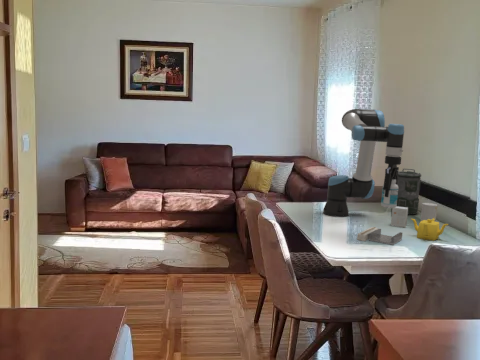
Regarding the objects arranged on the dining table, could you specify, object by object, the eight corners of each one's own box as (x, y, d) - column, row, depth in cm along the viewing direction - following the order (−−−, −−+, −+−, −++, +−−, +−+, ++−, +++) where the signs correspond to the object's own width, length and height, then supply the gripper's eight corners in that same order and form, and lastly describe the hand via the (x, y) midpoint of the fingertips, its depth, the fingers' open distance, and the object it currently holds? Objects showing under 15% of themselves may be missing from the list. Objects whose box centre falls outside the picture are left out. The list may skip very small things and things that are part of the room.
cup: (436, 227, 304) (438, 206, 303) (421, 225, 306) (423, 204, 304) (434, 224, 312) (436, 203, 310) (419, 222, 314) (421, 202, 312)
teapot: (423, 241, 268) (425, 222, 267) (407, 234, 282) (409, 216, 281) (448, 241, 272) (450, 222, 271) (432, 234, 286) (434, 216, 284)
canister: (390, 213, 338) (394, 168, 334) (392, 209, 353) (396, 166, 349) (416, 216, 333) (421, 171, 329) (417, 211, 347) (422, 168, 343)
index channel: (369, 240, 264) (369, 233, 263) (378, 235, 276) (378, 228, 275) (393, 245, 258) (394, 237, 257) (401, 239, 269) (402, 232, 269)
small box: (406, 225, 303) (408, 207, 301) (405, 227, 298) (407, 209, 296) (392, 223, 306) (393, 205, 305) (390, 225, 301) (392, 207, 300)
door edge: (357, 239, 264) (357, 232, 264) (370, 232, 281) (371, 226, 280) (364, 241, 262) (365, 234, 261) (378, 234, 279) (378, 227, 278)
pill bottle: (378, 204, 268) (381, 178, 266) (393, 205, 268) (395, 178, 266) (383, 207, 260) (386, 180, 258) (398, 208, 261) (401, 180, 259)
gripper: (394, 157, 250) (390, 206, 253) (407, 155, 267) (402, 201, 270) (379, 156, 254) (374, 203, 257) (392, 154, 271) (387, 198, 274)
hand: (389, 202), depth 264 cm, fingers closed on pill bottle, 7 cm apart
